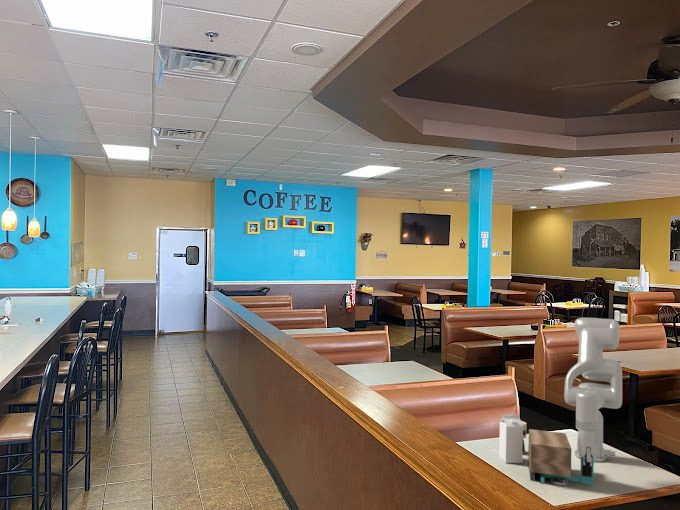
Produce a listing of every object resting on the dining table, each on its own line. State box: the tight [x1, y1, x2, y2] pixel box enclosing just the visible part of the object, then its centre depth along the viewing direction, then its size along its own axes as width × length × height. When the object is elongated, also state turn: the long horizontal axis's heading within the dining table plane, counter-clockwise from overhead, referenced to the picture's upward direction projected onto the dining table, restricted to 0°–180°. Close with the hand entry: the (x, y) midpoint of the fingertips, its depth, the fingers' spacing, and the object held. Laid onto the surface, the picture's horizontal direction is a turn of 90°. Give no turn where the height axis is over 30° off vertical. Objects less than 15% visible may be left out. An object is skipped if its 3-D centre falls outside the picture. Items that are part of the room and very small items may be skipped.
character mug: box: [521, 420, 527, 454], centre depth 228 cm, size 11×7×13 cm, turn 157°
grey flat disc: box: [549, 477, 569, 487], centre depth 195 cm, size 6×6×1 cm
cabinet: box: [528, 428, 572, 482], centre depth 202 cm, size 14×20×14 cm
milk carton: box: [498, 413, 524, 464], centre depth 217 cm, size 7×7×19 cm
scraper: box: [538, 456, 595, 486], centre depth 197 cm, size 19×14×10 cm
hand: (586, 474), depth 195 cm, fingers closed on scraper, 2 cm apart
